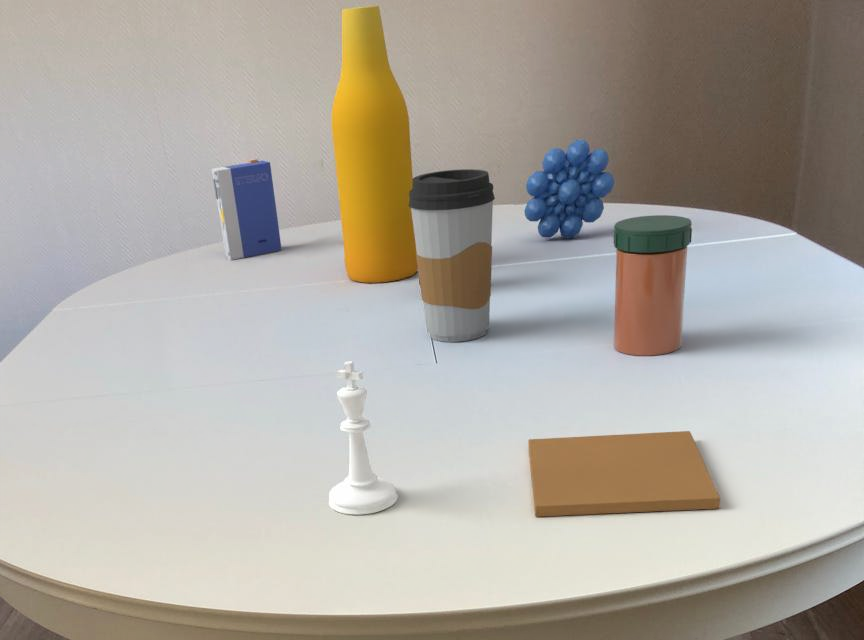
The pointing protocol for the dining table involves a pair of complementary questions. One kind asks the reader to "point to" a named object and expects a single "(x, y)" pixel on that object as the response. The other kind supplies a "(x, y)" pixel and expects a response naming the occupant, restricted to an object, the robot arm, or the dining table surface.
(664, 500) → the mat
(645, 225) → the lid
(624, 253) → the jar
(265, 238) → the walkman
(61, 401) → the dining table surface
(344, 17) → the beer bottle
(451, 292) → the coffee cup
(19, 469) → the dining table surface
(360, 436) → the chess piece
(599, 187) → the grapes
